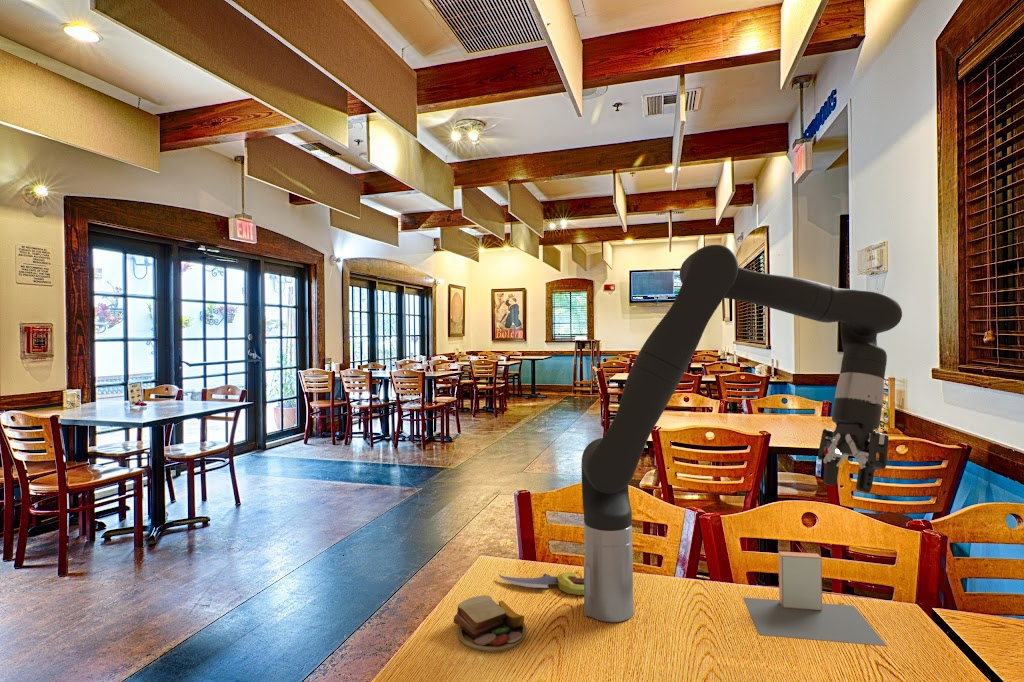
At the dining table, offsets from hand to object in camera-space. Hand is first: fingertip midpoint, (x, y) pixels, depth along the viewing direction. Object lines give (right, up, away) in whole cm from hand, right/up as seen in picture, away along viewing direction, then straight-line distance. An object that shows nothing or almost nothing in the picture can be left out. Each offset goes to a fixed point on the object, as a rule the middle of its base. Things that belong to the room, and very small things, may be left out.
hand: (845, 488), depth 100 cm
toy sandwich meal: (-65, -27, 0) cm, 70 cm away
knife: (-51, -27, +19) cm, 61 cm away
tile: (-5, -24, +6) cm, 26 cm away
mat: (-6, -25, +1) cm, 26 cm away
